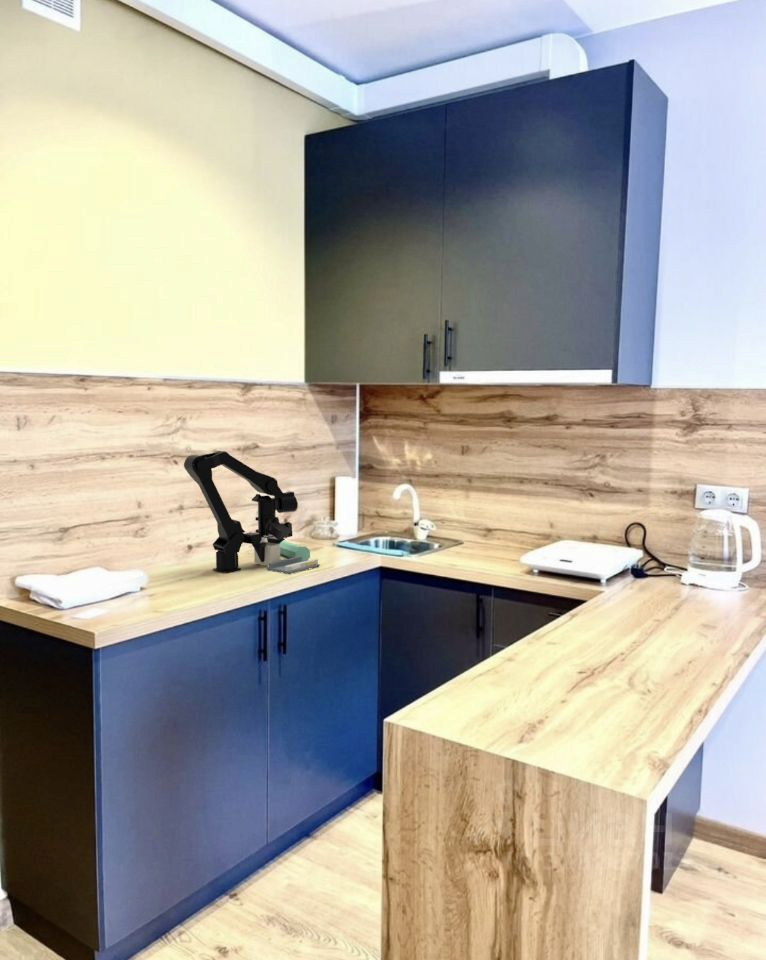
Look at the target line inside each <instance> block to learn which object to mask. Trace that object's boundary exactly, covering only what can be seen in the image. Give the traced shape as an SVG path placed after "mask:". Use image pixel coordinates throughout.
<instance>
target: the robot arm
mask: <svg viewBox="0 0 766 960" xmlns="http://www.w3.org/2000/svg"><path fill="white" fill-rule="evenodd" d="M183 466H184V469H185V470H186V472H187V474H188V475H189V477H190V478H192V480H194V482H195V483H197V485H198V487H199V488H200V491H201V493H202V495H203V497H204V498H205V501H206V503H207V505H208V507H209V510H210V511H211V513H212V515H213V517H214V519H215V521H216V525H217V533H218V537H217V538H216V540H214V541H213V543H212V547H213V549H214V550H215V564H216V565H215V567H214V568H212V571H216V572H221V573H226V574H227V573H231V572H234V571H239V570H241V569H242V568H241V567H239V554H238V553H240V550H241V547H242V546H243V544H244V543H245V544H249V545H252V547H253V548H254V549H255V551H256V552H257V554H258V556H259V558H260V560H261V562H264V558H265V546H266V544H267V542H269V543H276V544H280V543H281V542H282V541H285V540H286V539H287V538H290V537H293V524H292V522H290V521H286V522H284V523H281V522H280V519H279V516H276V512H277V513H279V514H282V513H293V512H297V510H298V507H299V504H298V503H299V502H298V500H297V498H296V497H297V496H295V491H287V492H284V491H282V489H281V488H280V487H279V484H278V480H277V479H276V478H275V477H272V476H271V475H268V474H265V473H261V472H259V471H256V470H255V469H253V468H251V467H250V466H248V465H247V464H245V463H244V462H242V461H241V460H238V459H237V458H236V457H234V456H232V455H230V453H229V452H227V451H224V450H217V451H214V452H211V453H207V454H206V453H205V454H200V455H197V454H190V455H188V456H187V457H186V458H185V459H184V462H183ZM219 466H223V467H224V468H226V469H227V470H229V471H230V472H232V473H234V474H236V475H237V476H239V477H240V478H242V479H244V480H246V482H248V483H249V485H250V486H251V487H252V488H253V489H254V490H255V491H256V492H258V493H256V494H255V496H253V497H252V498H251V501H252V502H255V503H257V516H256V517H255V521H257V525H258V527H257V528H258V529H257V528H256V529H255V532H246V531H245V530H244V529H243V526H242V524H241V523H242V522H240V520H237V519H232V517H231V516H230V513H229V511H228V510H227V509H228V508H226V507H227V506H226V504H225V502H224V501H223V499H222V497H221V494H220V492H219V491H218V489H217V487H216V485H215V482H214V480H213V470H212V469H215V468H217V467H219ZM261 494H266V495H261ZM271 496H272V497H271ZM265 539H266V541H265Z"/></svg>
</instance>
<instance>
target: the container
mask: <svg viewBox="0 0 766 960" xmlns="http://www.w3.org/2000/svg"><path fill="white" fill-rule="evenodd" d="M280 554H281V555H280V556H283V555H284V556H283V557H285V558H288V557H289V558H294V557H298V556H300V557H302V561H309V560H310V558H311V550H310V549H309V548H308V547H307V546H305V545H303V546H301V545H298V544H294V543H292V542H289V541H285V540H283V541H282V542H281V543H280ZM289 558H288V559H289Z"/></svg>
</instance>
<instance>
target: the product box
mask: <svg viewBox="0 0 766 960" xmlns="http://www.w3.org/2000/svg"><path fill="white" fill-rule="evenodd" d="M266 542H267V544H266V546H265V558H264V562H261V560H260V558H259V556H258V554H257V552H256V551H255V549H254V551H253V552H254V553H253V557H254V564H255V563H256V564H255V565H257V564H261V565H260V566H263V565H267V566H266V567H268V566H269V563H272V562H276V561H281V555H280V544H276V543H269V542H268V541H266Z"/></svg>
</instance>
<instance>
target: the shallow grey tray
mask: <svg viewBox="0 0 766 960" xmlns="http://www.w3.org/2000/svg"><path fill="white" fill-rule="evenodd" d="M318 561H319V559H318V558H312V559H308V561H302V557H300V556H298V557H294V558H285V559H282V560H281V559H280V561H276V562H272V563H269V567H268V566H266V570H267V569H268V570H267V571H270V570H273V571H272V572H275V571H277V572H276V573H281V572H283V573H282V574H286V573H288V574H287V575H292V574H291V573H293V574H296V573H295V572H297V573H299V572H298V571H300V572H303V571H302V570H304V571H307V570H306V569H308V570H310V569H309V568H312V569H314V568H313V567H316V568H318V567H317V566H320V567H321V565H320V563H319V562H318Z"/></svg>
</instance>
